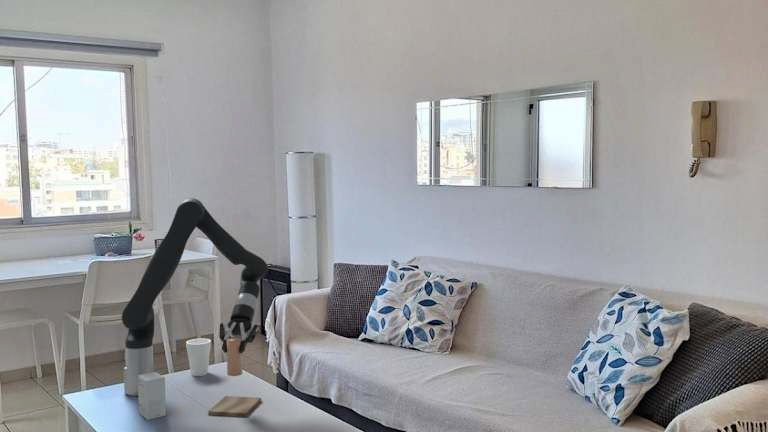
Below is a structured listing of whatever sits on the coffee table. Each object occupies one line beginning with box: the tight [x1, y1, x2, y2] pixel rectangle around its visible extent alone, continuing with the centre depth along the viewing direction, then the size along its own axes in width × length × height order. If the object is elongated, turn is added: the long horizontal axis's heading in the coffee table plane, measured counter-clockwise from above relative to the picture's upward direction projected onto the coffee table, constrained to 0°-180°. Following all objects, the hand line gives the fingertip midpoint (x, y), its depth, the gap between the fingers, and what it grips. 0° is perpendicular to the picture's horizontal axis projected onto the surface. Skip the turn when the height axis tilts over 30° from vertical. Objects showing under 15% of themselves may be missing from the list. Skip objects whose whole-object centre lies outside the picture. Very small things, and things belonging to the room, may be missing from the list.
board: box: [207, 395, 262, 418], centre depth 228 cm, size 13×15×1 cm
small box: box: [137, 371, 167, 420], centre depth 221 cm, size 8×6×13 cm
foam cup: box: [185, 337, 212, 377], centre depth 265 cm, size 10×9×13 cm
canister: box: [226, 336, 243, 377], centre depth 226 cm, size 5×5×12 cm
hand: (232, 351), depth 224 cm, fingers closed on canister, 5 cm apart
